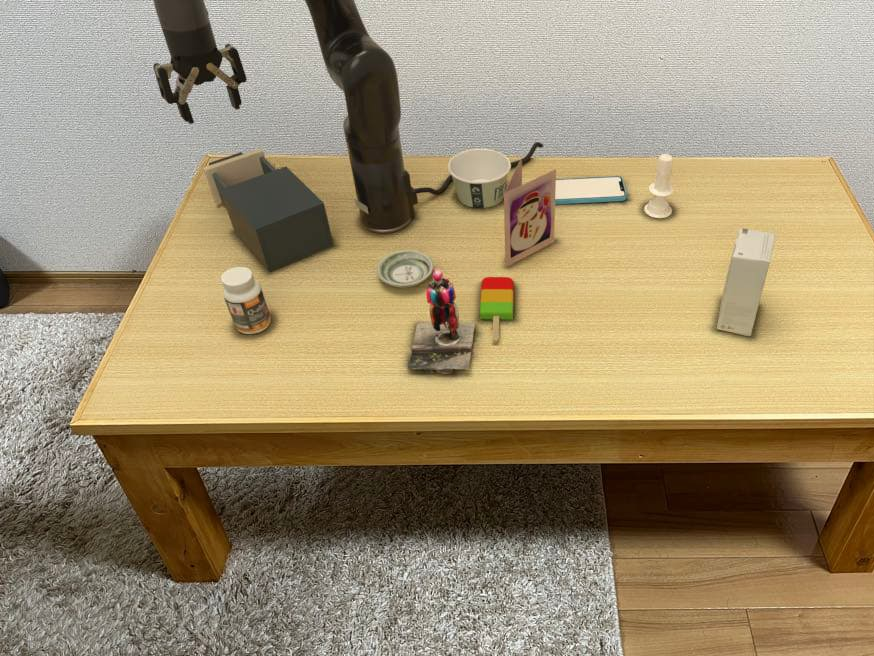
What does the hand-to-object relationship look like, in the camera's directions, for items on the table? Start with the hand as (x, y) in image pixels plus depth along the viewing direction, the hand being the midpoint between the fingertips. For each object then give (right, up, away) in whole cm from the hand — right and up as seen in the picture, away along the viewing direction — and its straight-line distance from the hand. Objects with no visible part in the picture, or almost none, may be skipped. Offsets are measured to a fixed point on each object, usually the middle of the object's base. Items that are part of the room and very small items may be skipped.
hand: (213, 114), depth 136 cm
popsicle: (+51, -36, -8) cm, 63 cm away
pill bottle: (+11, -38, -11) cm, 42 cm away
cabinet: (+11, -21, +4) cm, 24 cm away
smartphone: (+67, -10, +15) cm, 70 cm away
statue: (+43, -43, -14) cm, 62 cm away
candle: (+81, -14, +12) cm, 83 cm away
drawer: (+3, -13, +10) cm, 17 cm away
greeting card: (+54, -23, +4) cm, 59 cm away
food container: (+46, -10, +14) cm, 50 cm away
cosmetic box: (+91, -37, -8) cm, 98 cm away
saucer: (+35, -30, -3) cm, 46 cm away
